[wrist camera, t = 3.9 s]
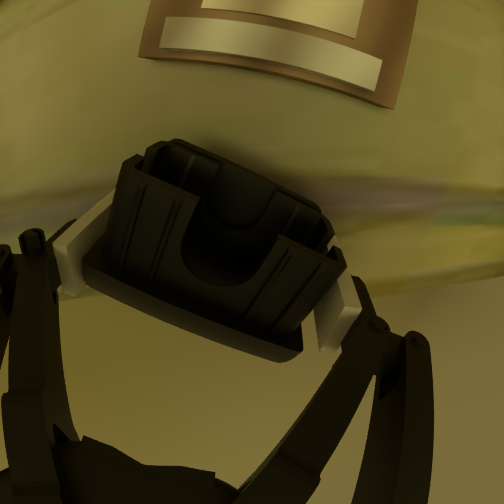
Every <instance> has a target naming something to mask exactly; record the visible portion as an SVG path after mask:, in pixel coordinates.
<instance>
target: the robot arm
mask: <svg viewBox="0 0 504 504" xmlns="http://www.w3.org/2000/svg"><path fill="white" fill-rule="evenodd" d="M114 192H115V189H114V190H112V191H111V192H110V193H109V194H107V195H106V196H105V197H104V198H103V199H101V200H100V201H99V202H98V203H96V204H95V205H94V206H93V207H92V208H91V209H89V210H88V211H87V212H86V213H85V214H84V215H82V216H81V217H80V218H79V219H74V220H71V221H69V222H67V223H66V224H65V225H64V226H63V227H61V229H59V230H58V231H57V233H55V234H54V235H53V236H52V237H51V238H49V239H48V240H47V241H46V240H45V234H44V231H43V230H42V229H39V228H32V229H29V230H26V231H24V232H23V233H22V234H20V236H19V237H18V239H19V244H20V248H21V252H22V254H12V252H11V248H10V246H9V245H6V244H2V245H0V369H1V365H2V360H3V357H4V353H5V350H6V346H7V343H8V340H9V362H8V363H9V364H8V366H9V367H8V369H9V370H8V378H9V379H8V381H9V382H8V383H9V390H8V392H7V393H3V395H2V399H1V408H2V422H3V431H4V439H5V447H6V454H7V459H8V464H9V467H8V468H6V469H4V470H2V471H0V504H306V502H307V501H308V500H309V498H310V497H311V495H312V494H313V492H314V491H315V489H316V488H317V486H318V484H319V482H320V474H321V472H322V470H323V468H324V467H325V465H326V464H327V462H328V460H329V459H330V457H331V455H332V454H333V452H334V450H335V449H336V447H337V445H338V444H339V442H340V440H341V438H342V437H343V435H344V433H345V431H346V429H347V428H348V426H349V424H350V422H351V420H352V418H353V416H354V414H355V412H356V410H357V408H358V406H359V404H360V402H361V400H362V398H363V396H364V394H365V392H366V390H367V387H368V385H369V383H370V381H371V379H372V376H373V375H376V383H375V391H374V398H373V405H372V412H371V418H370V424H369V430H368V435H367V440H366V446H365V451H364V455H363V460H362V464H361V468H360V472H359V477H358V480H357V484H356V488H355V492H354V495H353V499H352V502H351V504H427V503H428V497H429V489H430V481H431V471H432V459H433V441H434V398H433V377H432V364H431V353H430V345H429V342H428V341H427V339H426V338H425V337H424V336H423V335H422V334H420V333H419V332H416V331H409V332H408V333H407V334H406V335H405V336H404V337H402V336H399V335H397V334H394V333H392V332H390V328H389V325H388V324H387V323H386V321H385V320H383V319H382V318H380V317H378V316H377V315H376V312H375V310H374V307H373V304H372V301H371V299H370V296H369V294H368V292H367V288H366V286H365V284H364V282H363V281H362V280H361V279H360V278H359V277H357V276H352V275H350V272H349V269H348V267H347V268H346V270H345V271H344V272H343V273H342V275H341V276H340V277H339V278H338V280H337V281H336V282H335V283H334V284H333V286H332V287H331V288H330V289H329V291H328V292H327V293H326V294H325V295H324V297H323V298H322V299H321V300H320V301H319V303H318V304H317V305H316V306H315V307H314V309H313V310H314V317H315V324H316V331H317V338H318V346H319V351H322V352H330V353H335V352H336V351H337V349H338V348H339V346H340V345H341V349H342V353H341V354H340V356H339V357H338V359H337V360H336V362H335V363H334V365H333V366H332V369H331V370H330V372H329V373H328V375H327V376H326V378H325V379H324V381H323V382H322V384H321V385H320V387H319V388H318V390H317V391H316V393H315V394H314V396H313V397H312V399H311V400H310V402H309V403H308V404H307V406H306V407H305V409H304V410H303V411H302V413H301V414H300V416H299V417H298V418H297V420H296V421H295V422H294V424H293V425H292V426H291V428H290V429H289V430H288V432H287V433H286V434H285V436H284V437H283V438H282V439H281V441H280V442H279V443H278V444H277V446H276V447H275V448H274V449H273V451H272V452H271V453H270V454H269V455H268V457H267V458H266V459H265V460H264V461H263V462H262V464H261V465H260V466H259V467H258V468H257V469H256V471H255V472H254V473H253V474H252V475H251V476H250V477H249V478H248V479H247V480H246V481H245V482H244V483H243V484H242V486H240V488H239V489H238V490H237V489H236V488H234V487H233V486H231V485H230V484H228V483H226V482H224V481H222V480H220V479H217V478H215V472H211V471H205V470H199V469H194V468H189V467H183V466H153V465H143V464H141V463H140V462H138V461H136V460H134V459H132V458H131V457H129V456H127V455H126V454H124V453H122V452H121V451H119V450H118V449H116V448H114V447H113V446H110V445H107V444H104V443H102V442H99V441H97V440H94V439H92V438H89V437H87V436H83V438H82V441H80V440H79V437H78V435H77V432H76V430H75V428H74V425H73V422H72V418H71V414H70V408H69V403H68V398H67V392H66V386H65V379H64V371H63V363H62V354H61V343H60V329H59V299H58V292H57V288H58V287H59V286H60V285H62V289H63V293H64V294H66V295H69V296H72V297H75V298H77V296H78V295H79V294H80V292H81V291H82V289H83V288H84V287H85V285H86V282H85V280H84V278H83V273H82V258H83V257H84V255H85V254H86V253H87V252H88V251H89V250H90V249H91V247H92V246H93V245H94V244H95V243H96V242H97V241H98V240H99V238H100V237H101V236H102V235H103V234H104V233H105V232H106V228H107V223H108V218H109V214H110V209H111V205H112V201H113V196H114ZM334 233H335V232H334ZM333 245H334V246H336V247H338V248H340V245H339V243H338V240H337V237H336V235H334V236H333V238H332V239H331V241H330V242H329V243H328V245H327V246H326V248H325V249H324V250H323V252H322V253H321V254H322V255H324V256H325V255H326V254H327V253H328V251H329V250H330V249H331V247H332V246H333ZM340 249H341V248H340ZM341 251H342V250H341ZM344 259H345V258H344ZM9 336H10V339H9Z"/></svg>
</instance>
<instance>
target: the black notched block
mask: <svg viewBox="0 0 504 504" xmlns="http://www.w3.org/2000/svg"><path fill="white" fill-rule="evenodd" d="M334 235H335V233H334V230H333V228H332V225H331V223H330V221H329V220H328V219H327V218H326V217H325V216H324V215H322V213H321V210H320V207H319V206H318V205H317V204H316V203H314V202H312V201H310V200H308V199H306V198H304V197H302V196H300V195H299V194H297V193H295V192H293V191H291V190H289V189H287V188H285V187H283V186H281V185H279V184H277V183H275V182H273V181H271V180H269V179H267V178H265V177H263V176H261V175H259V174H257V173H255V172H253V171H251V170H248V169H246V168H244V167H242V166H240V165H238V164H236V163H234V162H231V161H229V160H227V159H225V158H223V157H220V156H218V155H216V154H214V153H212V152H209V151H207V150H205V149H202V148H200V147H198V146H196V145H193V144H191V143H189V142H186V141H184V140H181V139H176V138H175V139H172V140H170V141H168V142H167V141H159V142H157V143H155V144H153V145H151V146H149V147H147V149H146V152H145V155H144V157H143V156H141V155H139V154H136V155H134V156H132V157H131V158H129V159H127V160H125V161H124V162H123V163H122V166H121V170H120V173H119V177H118V181H117V185H116V188H115V192H114V196H113V201H112V205H111V209H110V214H109V218H108V223H107V228H106V232H105V233H104V234H103V235H102V236H101V237H100V238H99V240H98V241H97V242H96V243H95V244H94V245H93V246H92V247H91V249H90V250H89V251H88V252H87V253H86V254H85V255H84V257H83V258H82V273H83V278H84V280H85V282H86V284H87V285H88V286H90V287H92V288H94V289H96V290H98V291H100V292H102V293H104V294H106V295H108V296H110V297H112V298H114V299H116V300H118V301H120V302H122V303H124V304H127V305H128V306H131V307H133V308H135V309H137V310H139V311H142V312H144V313H146V314H148V315H151V316H153V317H155V318H158V319H160V320H162V321H164V322H167V323H169V324H172V325H174V326H177V327H179V328H181V329H184V330H186V331H189V332H191V333H194V334H197V335H199V336H202V337H204V338H207V339H209V340H212V341H215V342H218V343H220V344H223V345H226V346H229V347H231V348H234V349H237V350H240V351H243V352H246V353H249V354H252V355H255V356H258V357H261V358H264V359H267V360H270V361H273V362H277V363H282V362H287V361H289V360H291V359H293V358H295V357H296V356H297V355H298V354H300V353H301V352H302V351H303V339H302V328H301V322H302V321H303V320H304V319H305V317H306V316H307V315H308V314H309V313H310V312H311V311H312V309H314V307H315V306H316V305H317V304H318V303H319V301H320V300H321V299H322V298H323V297H324V295H325V294H326V293H327V292H328V291H329V289H330V288H331V287H332V286H333V284H334V283H335V282H336V281H337V280H338V278H339V277H340V276H341V275H342V273H343V272H344V271H345V270H346V268H347V264H346V261H345V259H344V256H343V253H342V251H341V249H340V248H338V247H336V246H334V245H333V246H332V247H331V249H330V250H329V251H328V253H327V254H326V255H325V256H324V255H322V254H321V253H322V252H323V250H324V249H325V248H326V246H327V245H328V243H329V242H330V241H331V239H332V238H333V236H334Z"/></svg>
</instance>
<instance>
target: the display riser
mask: <svg viewBox="0 0 504 504" xmlns="http://www.w3.org/2000/svg"><path fill="white" fill-rule="evenodd" d="M417 3H418V0H151V3H150V6H149V10H148V14H147V18H146V22H145V26H144V30H143V35H142V39H141V44H140V49H139V54H138V57H140V58H146V59H152V60H171V61H185V62H197V63H206V64H215V65H222V66H229V67H236V68H242V69H248V70H253V71H258V72H264V73H268V74H273V75H278V76H282V77H286V78H290V79H295V80H298V81H302V82H306V83H310V84H313V85H317V86H320V87H324V88H327V89H330V90H333V91H337V92H340V93H343V94H346V95H349V96H352V97H354V98H357V99H360V100H363V101H365V102H368V103H371V104H373V105H376V106H378V107H382V108H387V109H391V110H394V107H395V103H396V99H397V96H398V92H399V88H400V84H401V80H402V76H403V72H404V68H405V64H406V60H407V55H408V51H409V46H410V41H411V36H412V31H413V26H414V21H415V15H416V9H417Z"/></svg>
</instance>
